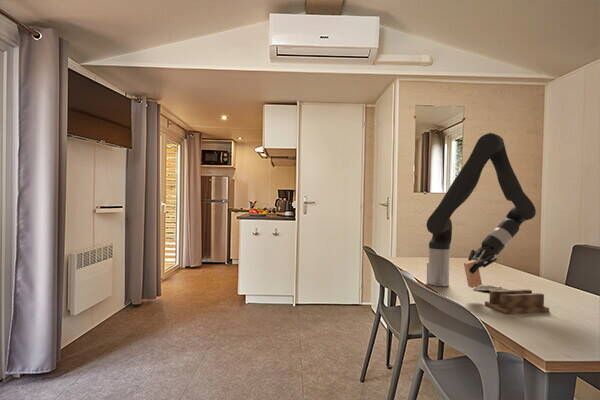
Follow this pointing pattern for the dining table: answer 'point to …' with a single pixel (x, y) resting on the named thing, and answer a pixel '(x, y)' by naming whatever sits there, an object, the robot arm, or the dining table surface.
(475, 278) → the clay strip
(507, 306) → the walnut rack
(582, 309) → the dining table surface
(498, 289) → the stone fragment
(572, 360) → the dining table surface
